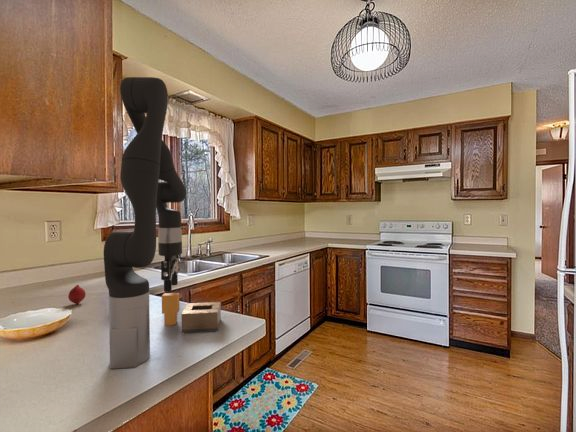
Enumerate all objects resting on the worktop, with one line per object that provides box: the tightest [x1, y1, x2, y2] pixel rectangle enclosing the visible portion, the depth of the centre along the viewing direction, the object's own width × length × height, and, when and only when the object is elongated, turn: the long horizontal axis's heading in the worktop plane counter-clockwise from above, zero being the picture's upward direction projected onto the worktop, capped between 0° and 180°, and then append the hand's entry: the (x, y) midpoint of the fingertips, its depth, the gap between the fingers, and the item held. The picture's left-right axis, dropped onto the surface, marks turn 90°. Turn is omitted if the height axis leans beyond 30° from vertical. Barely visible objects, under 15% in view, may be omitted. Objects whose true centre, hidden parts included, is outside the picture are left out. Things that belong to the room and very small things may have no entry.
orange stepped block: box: [161, 292, 180, 326], centre depth 104 cm, size 3×5×10 cm, turn 97°
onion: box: [67, 284, 87, 305], centre depth 126 cm, size 6×6×8 cm
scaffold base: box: [181, 301, 222, 334], centre depth 102 cm, size 11×11×6 cm
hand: (171, 288), depth 104 cm, fingers open, 8 cm apart
